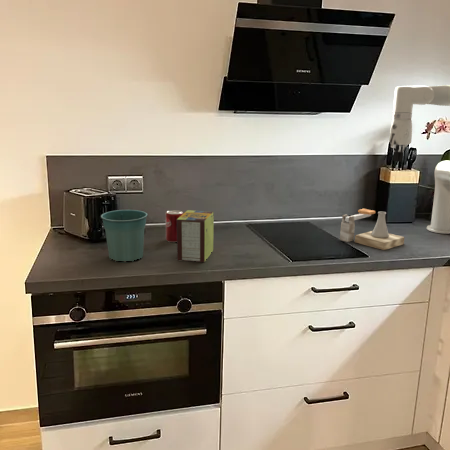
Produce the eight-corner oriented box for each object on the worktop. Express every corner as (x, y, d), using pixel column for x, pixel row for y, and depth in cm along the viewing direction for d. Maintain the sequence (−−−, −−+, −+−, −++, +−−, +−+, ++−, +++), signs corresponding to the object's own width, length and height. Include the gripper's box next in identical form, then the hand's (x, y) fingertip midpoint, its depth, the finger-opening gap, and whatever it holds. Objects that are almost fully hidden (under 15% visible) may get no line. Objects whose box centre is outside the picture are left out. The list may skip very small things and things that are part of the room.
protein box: (213, 250, 201) (214, 211, 197) (204, 262, 186) (205, 220, 183) (187, 248, 203) (187, 209, 199) (176, 260, 188) (176, 218, 184)
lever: (352, 223, 214) (353, 216, 213) (340, 220, 218) (341, 214, 217) (375, 217, 223) (375, 211, 222) (363, 214, 228) (363, 208, 227)
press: (362, 233, 229) (364, 210, 226) (403, 244, 214) (406, 219, 211) (339, 239, 219) (341, 215, 216) (381, 251, 204) (383, 224, 201)
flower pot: (129, 267, 180) (127, 222, 176) (93, 259, 187) (91, 216, 184) (157, 255, 194) (156, 213, 190) (123, 248, 201) (121, 207, 197)
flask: (389, 239, 210) (392, 214, 207) (371, 237, 211) (373, 213, 209) (388, 234, 217) (390, 211, 214) (370, 233, 218) (372, 209, 216)
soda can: (165, 243, 210) (164, 214, 207) (166, 238, 217) (166, 210, 214) (183, 243, 210) (183, 214, 207) (184, 238, 217) (183, 210, 214)
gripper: (399, 117, 208) (395, 163, 213) (420, 117, 218) (415, 161, 222) (383, 116, 214) (379, 161, 219) (403, 116, 223) (399, 159, 228)
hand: (397, 161), depth 220 cm, fingers closed
